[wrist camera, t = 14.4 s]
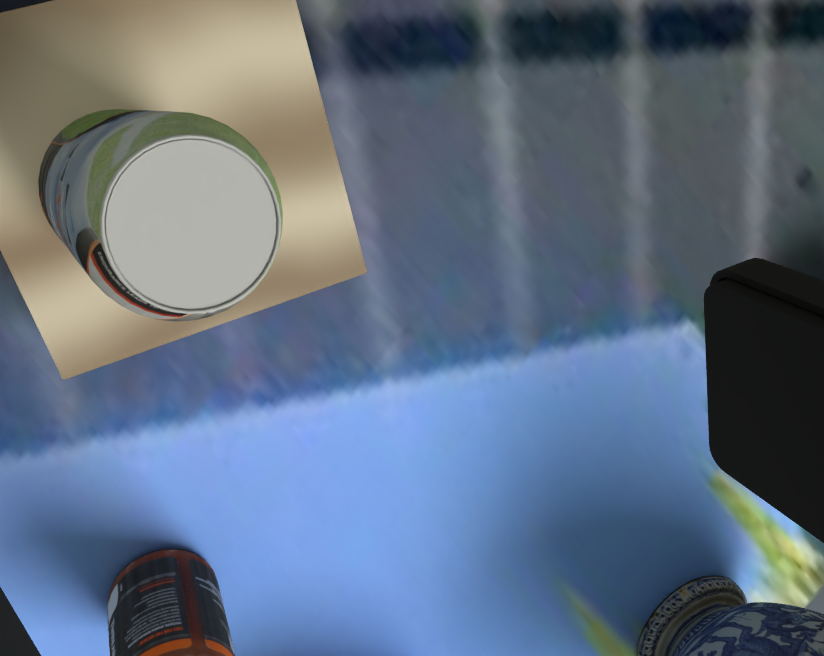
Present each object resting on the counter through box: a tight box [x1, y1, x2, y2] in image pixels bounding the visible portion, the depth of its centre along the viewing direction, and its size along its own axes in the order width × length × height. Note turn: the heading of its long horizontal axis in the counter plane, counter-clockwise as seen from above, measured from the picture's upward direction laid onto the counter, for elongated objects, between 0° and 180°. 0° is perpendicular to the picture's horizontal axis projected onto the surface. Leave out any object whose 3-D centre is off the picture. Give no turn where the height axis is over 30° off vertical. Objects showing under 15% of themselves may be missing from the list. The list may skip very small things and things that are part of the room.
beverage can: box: [38, 109, 283, 322], centre depth 26 cm, size 6×7×12 cm
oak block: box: [0, 0, 367, 380], centre depth 34 cm, size 14×14×5 cm
